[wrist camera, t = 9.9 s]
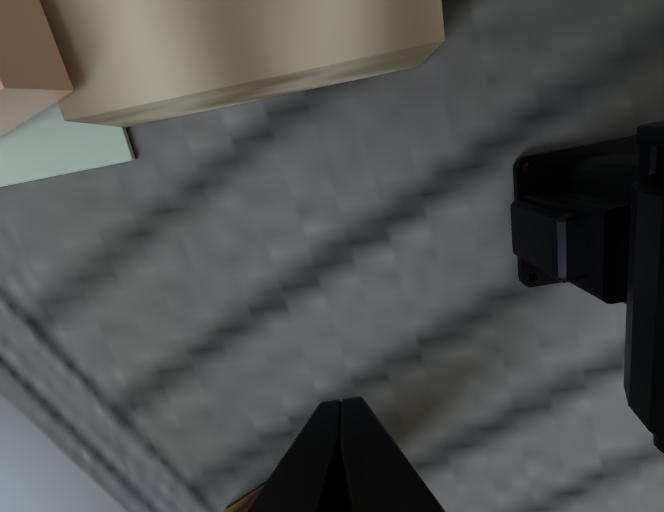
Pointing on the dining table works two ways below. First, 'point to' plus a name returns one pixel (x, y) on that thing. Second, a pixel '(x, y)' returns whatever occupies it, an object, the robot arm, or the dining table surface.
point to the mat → (59, 147)
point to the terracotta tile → (28, 64)
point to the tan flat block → (226, 51)
